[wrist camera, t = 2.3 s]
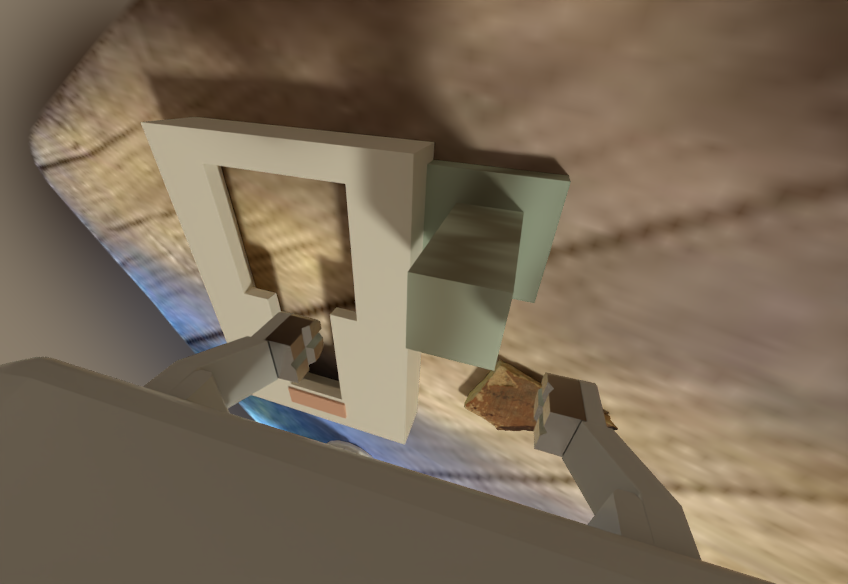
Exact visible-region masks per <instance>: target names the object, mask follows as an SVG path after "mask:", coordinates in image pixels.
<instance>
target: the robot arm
mask: <svg viewBox="0 0 848 584" xmlns="http://www.w3.org/2000/svg"><path fill="white" fill-rule="evenodd" d="M320 330H321V324H320V321H318V320H316V319H312V318H309V317H305V316H301V315H297V314H292V313H288V312H284V311H281V312H278V313H277V314H276V315H275V316H274V317H273V318H272V319H270V320H269V321H268V322H267V323H266V324H265V325H264V326H263V327H261V328H260V329H259V330H258V331H257V332H256V333H255V334H253V335H252V336H251V337H250V336H246V337H243V338H240V339H237V340H234V341H232V342H229V343H226V344H223V345H220V346H217V347H215V348H212V349H209V350H206V351H203V352H200V353H198V354H195V355H192V356H189V357H187V358H183V359H181V360H178V361H176V362H175V363H173V364H172V365H170V366H169V367H168V368H167V369H165V370H164V371H163V372H161V373H160V374H159V375H158V376H156V377H155V378H154V379H152V380H151V381H150V382H148V383H147V384H146V385H145V386H140V385H136V384H133V383H130V382H127V381H123V380H120V379H117V378H114V377H111V376H107V375H104V374H101V373H98V372H94V371H91V370H88V369H85V368H82V367H79V366H75V365H72V364H69V363H66V362H63V361H60V360H57V359H53V358H49V357H34V358H30V359H25V360H20V361H15V362H10V363H6V364H2V365H0V584H775V583H772V582H769V581H766V580H762V579H759V578H756V577H753V576H750V575H746V574H743V573H740V572H737V571H733V570H730V569H727V568H724V567H721V566H717V565H714V564H711V563H708V562H705V561H701V558H700V555H699V552H698V550H697V547H696V544H695V541H694V539H693V536H692V533H691V531H690V528H689V525H688V522H687V520H686V517H685V514H684V512H683V509H682V506H681V505H680V504H679V503H678V501H677V500H676V499H675V498H674V497H673V496H672V495H671V494H670V493H669V491H668V490H667V489H666V488H665V487H664V486H663V485H662V484H661V482H660V481H659V480H658V479H657V478H656V477H655V476H654V475H653V474H652V472H651V471H650V470H649V469H648V468H647V467H646V466H645V465H644V463H643V462H642V461H641V460H640V459H639V458H638V457H637V456H636V455H635V453H634V452H633V451H632V450H631V449H630V448H629V447H628V446H627V444H626V443H625V442H624V441H623V440H622V439H621V438H620V437H619V436H618V434H617V433H616V432H615V431H614V430H613V429H612V428H608V427H607V425H606V421H605V417H604V412H603V408H602V404H601V400H600V396H599V392H598V388H597V385H596V384H595V383H591V382H587V381H582V380H577V379H573V378H568V377H564V376H559V375H555V374H550V373H545V374H544V376H543V378H542V388H541V389H539V390H538V392H537V394H536V398H535V403H534V419H535V421H536V422H537V423H536V426H535V428H534V449H538V450H541V451H544V452H547V453H551V454H554V455H557V456H561V457H562V459H563V461H564V463H565V464H566V466H567V468H568V470H569V471H570V473H571V475H572V477H573V478H574V480H575V482H576V484H577V485H578V487H579V489H580V490H581V492H582V494H583V496H584V497H585V499H586V501H587V503H588V504H589V506H590V508H591V510H592V511H593V513H594V515H595V516H594V517H593V518H592V520H591V521H590V522H589V523H588V525H586V524H583V523H579V522H576V521H573V520H570V519H567V518H563V517H560V516H557V515H554V514H551V513H547V512H544V511H541V510H538V509H534V508H531V507H528V506H525V505H522V504H518V503H515V502H512V501H509V500H506V499H502V498H499V497H496V496H493V495H490V494H486V493H483V492H480V491H477V490H473V489H470V488H467V487H464V486H461V485H457V484H454V483H451V482H448V481H444V480H441V479H438V478H435V477H432V476H428V475H425V474H422V473H419V472H415V471H412V470H409V469H406V468H403V467H399V466H396V465H393V464H390V463H386V462H383V461H380V460H377V459H374V458H370V457H367V456H364V455H361V454H358V453H354V452H351V451H348V450H345V449H342V448H338V447H335V446H332V445H329V444H326V443H322V442H319V441H316V440H313V439H310V438H306V437H303V436H300V435H297V434H294V433H290V432H287V431H284V430H281V429H277V428H274V427H271V426H268V425H265V424H261V423H258V422H255V421H252V420H248V419H245V418H242V417H239V416H236V415H233V414H230V413H229V411H228V408H229V407H231V406H233V405H234V404H236V403H238V402H240V401H241V400H243V399H245V398H247V397H248V396H250V395H252V394H253V393H255V392H257V391H259V390H260V389H262V388H264V387H266V386H267V385H269V384H271V383H272V382H274V381H276V380H278V378H279V379H283V380H287V381H292V382H296V383H299V382H300V381H301V380H302V379H303V377H304V376H305V375H306V374H307V372H308V371H309V364H312V363H314V362H316V361H317V359H318V358H319V357H320V355H321V352H322V350H323V343H324V342H323V337H322V336H321V335H320V333H319V331H320Z"/></svg>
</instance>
